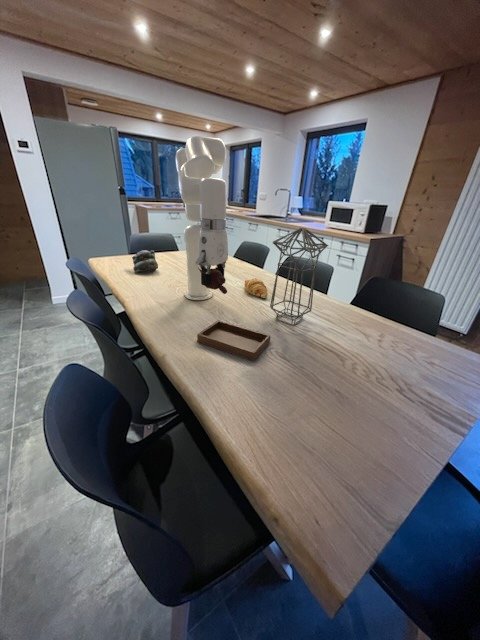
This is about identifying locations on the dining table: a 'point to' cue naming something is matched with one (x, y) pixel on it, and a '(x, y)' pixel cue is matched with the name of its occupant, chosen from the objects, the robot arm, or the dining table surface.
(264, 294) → the croissant
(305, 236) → the geometric lantern
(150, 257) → the grey lumpy block
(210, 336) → the tray
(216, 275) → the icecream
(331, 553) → the dining table surface
